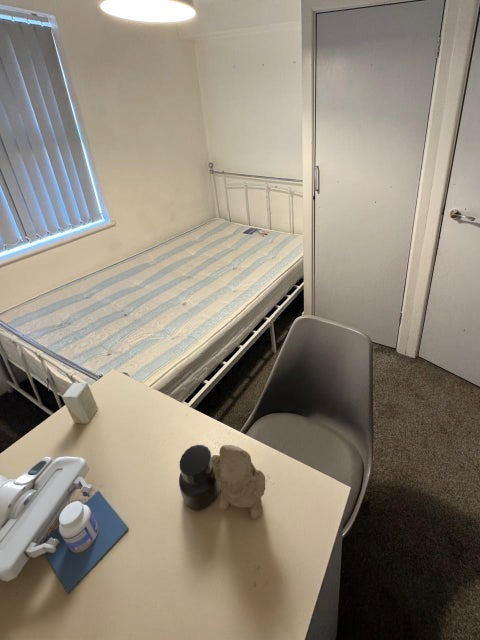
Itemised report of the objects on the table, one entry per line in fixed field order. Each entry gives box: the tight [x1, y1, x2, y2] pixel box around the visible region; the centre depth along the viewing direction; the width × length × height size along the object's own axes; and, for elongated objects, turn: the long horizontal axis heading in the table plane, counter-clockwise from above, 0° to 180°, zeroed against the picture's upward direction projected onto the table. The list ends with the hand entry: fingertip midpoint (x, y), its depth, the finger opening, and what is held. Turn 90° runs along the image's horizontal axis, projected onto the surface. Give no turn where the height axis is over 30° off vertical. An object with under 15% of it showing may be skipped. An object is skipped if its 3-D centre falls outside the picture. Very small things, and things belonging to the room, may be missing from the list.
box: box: [61, 382, 99, 424], centre depth 92 cm, size 5×4×11 cm
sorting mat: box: [39, 490, 130, 594], centre depth 69 cm, size 13×12×1 cm
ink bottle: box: [178, 443, 221, 512], centre depth 74 cm, size 10×9×12 cm
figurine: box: [211, 444, 266, 520], centre depth 70 cm, size 13×7×20 cm, turn 72°
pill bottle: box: [58, 500, 98, 552], centre depth 66 cm, size 5×5×10 cm
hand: (75, 516), depth 66 cm, fingers open, 8 cm apart
